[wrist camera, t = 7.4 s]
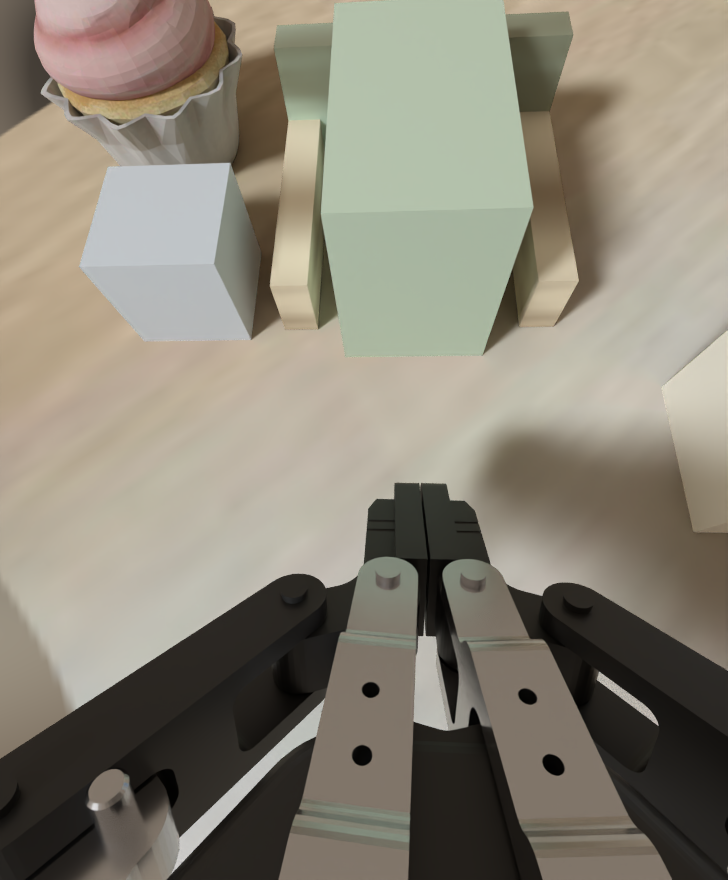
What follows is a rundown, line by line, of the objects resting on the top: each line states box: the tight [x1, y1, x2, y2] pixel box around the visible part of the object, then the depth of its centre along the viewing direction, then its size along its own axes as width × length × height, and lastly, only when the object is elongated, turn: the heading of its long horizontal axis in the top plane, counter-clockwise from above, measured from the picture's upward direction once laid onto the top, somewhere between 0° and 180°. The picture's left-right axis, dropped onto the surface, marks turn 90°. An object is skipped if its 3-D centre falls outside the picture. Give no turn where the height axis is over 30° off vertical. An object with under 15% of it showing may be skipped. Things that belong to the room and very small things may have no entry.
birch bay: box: [270, 12, 579, 329], centre depth 20 cm, size 11×12×6 cm
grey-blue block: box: [79, 163, 262, 341], centre depth 20 cm, size 5×5×5 cm
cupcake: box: [34, 0, 242, 166], centre depth 21 cm, size 9×9×10 cm
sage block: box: [321, 0, 533, 357], centre depth 19 cm, size 10×6×8 cm, turn 179°
